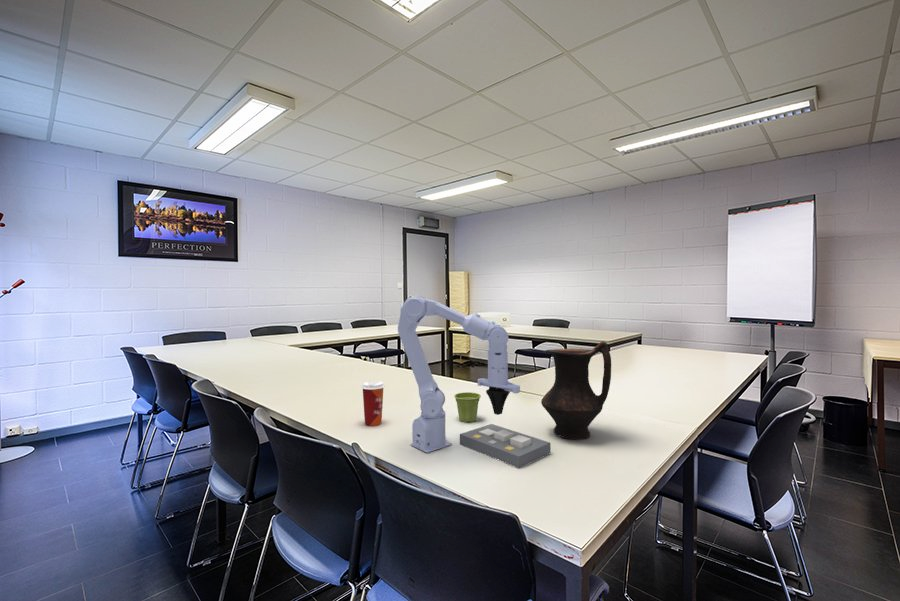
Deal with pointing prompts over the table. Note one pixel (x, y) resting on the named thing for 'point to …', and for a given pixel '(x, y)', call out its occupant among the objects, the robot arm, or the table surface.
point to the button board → (505, 446)
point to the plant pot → (467, 406)
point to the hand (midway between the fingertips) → (498, 413)
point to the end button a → (487, 432)
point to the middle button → (503, 436)
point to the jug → (576, 391)
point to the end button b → (520, 441)
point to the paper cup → (373, 402)
